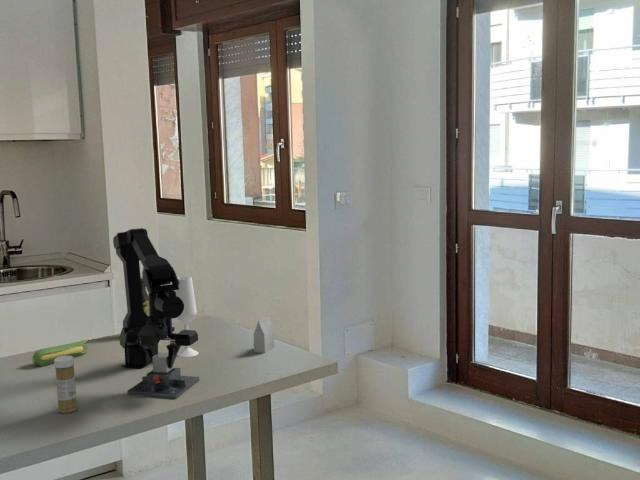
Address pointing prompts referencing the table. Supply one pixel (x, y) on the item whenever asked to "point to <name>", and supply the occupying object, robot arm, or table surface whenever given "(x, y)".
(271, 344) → the white gable top carton
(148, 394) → the jack base
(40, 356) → the edible corn
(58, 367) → the sprinkles bottle
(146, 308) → the sauce bottle
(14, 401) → the table surface
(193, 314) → the champagne flute
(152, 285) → the robot arm
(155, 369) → the block
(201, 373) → the table surface
